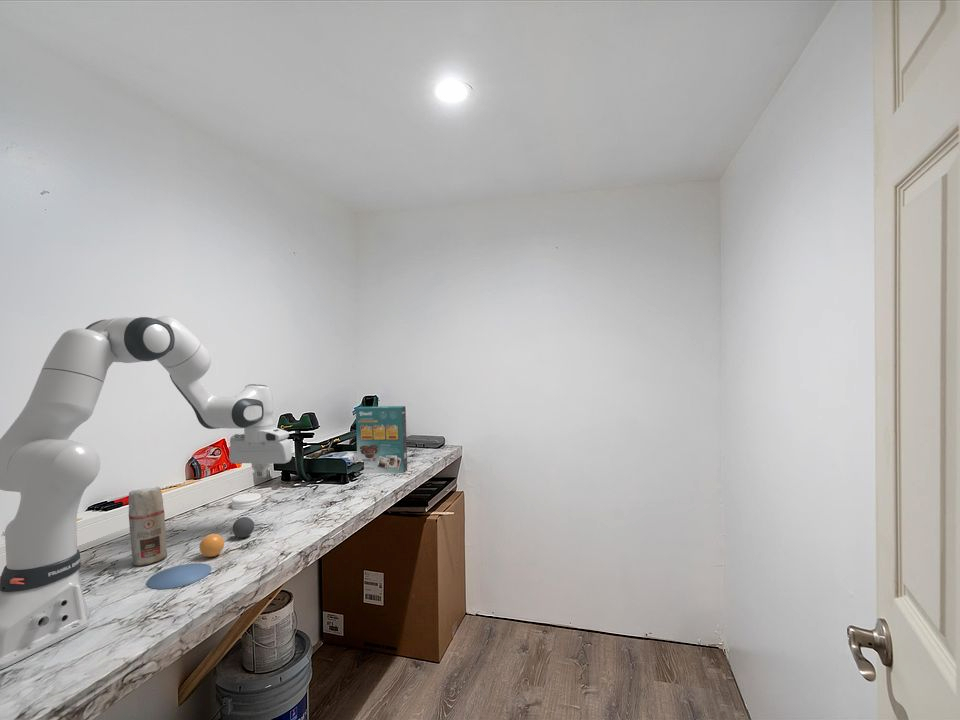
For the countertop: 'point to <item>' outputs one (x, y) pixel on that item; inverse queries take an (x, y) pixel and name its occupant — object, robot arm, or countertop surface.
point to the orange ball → (211, 545)
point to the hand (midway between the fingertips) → (261, 476)
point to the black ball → (243, 527)
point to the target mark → (178, 576)
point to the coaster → (246, 501)
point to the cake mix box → (382, 439)
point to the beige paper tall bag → (147, 526)
